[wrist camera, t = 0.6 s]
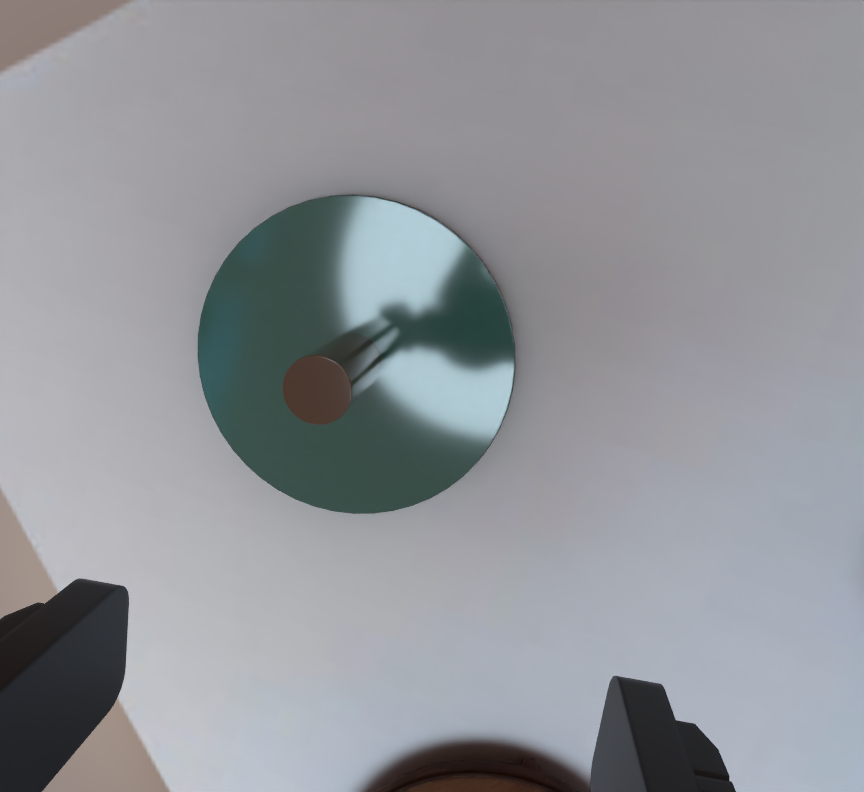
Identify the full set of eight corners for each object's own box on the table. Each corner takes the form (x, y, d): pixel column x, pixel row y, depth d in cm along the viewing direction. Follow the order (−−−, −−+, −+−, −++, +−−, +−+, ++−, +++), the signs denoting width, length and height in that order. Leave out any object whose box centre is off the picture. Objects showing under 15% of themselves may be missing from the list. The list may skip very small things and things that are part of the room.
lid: (182, 215, 31) (89, 208, 24) (500, 177, 29) (498, 157, 22) (234, 515, 33) (163, 586, 27) (527, 494, 32) (533, 564, 25)
